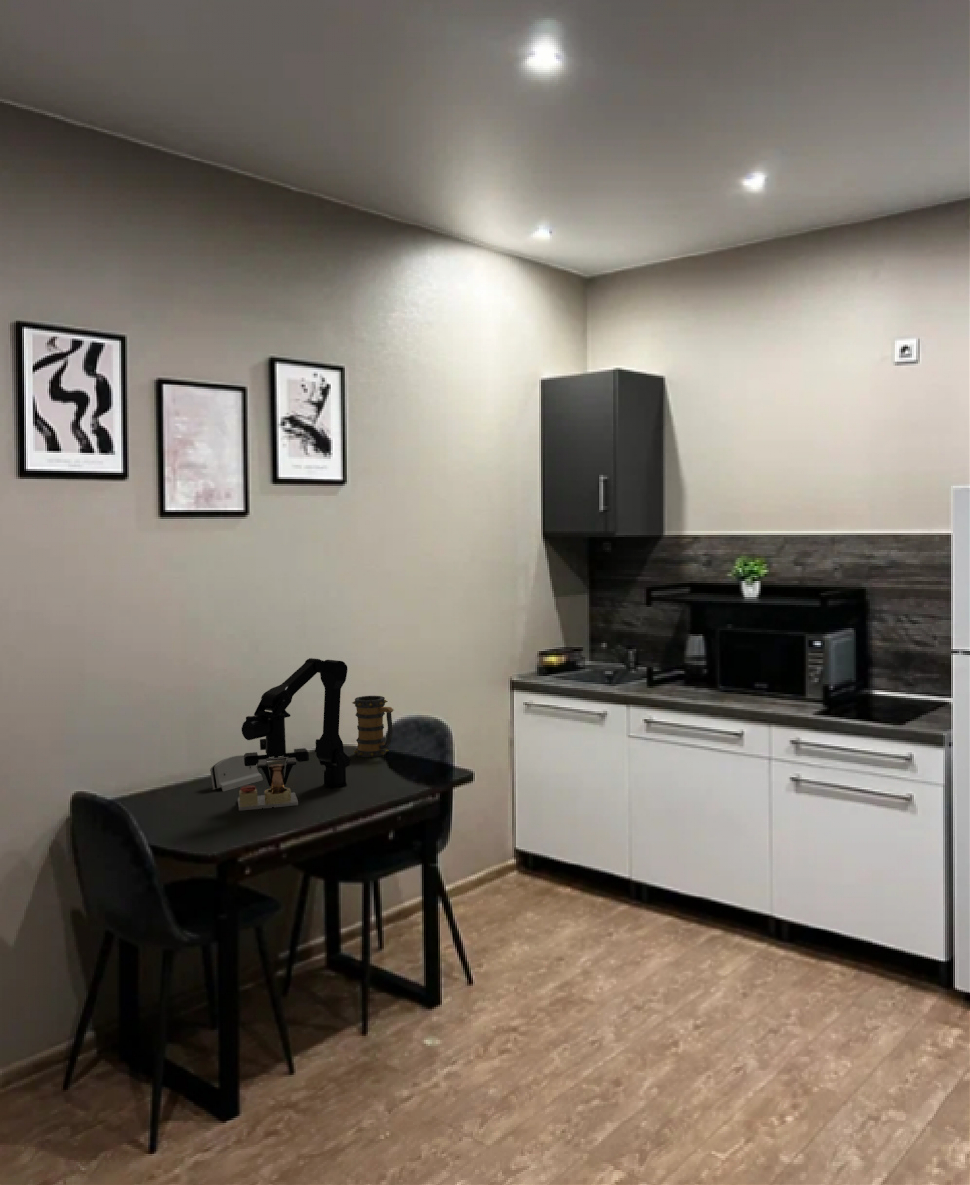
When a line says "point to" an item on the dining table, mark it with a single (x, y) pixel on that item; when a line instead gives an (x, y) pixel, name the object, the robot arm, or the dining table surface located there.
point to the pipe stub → (277, 778)
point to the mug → (372, 726)
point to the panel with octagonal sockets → (264, 798)
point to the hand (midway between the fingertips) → (277, 785)
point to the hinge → (233, 773)
